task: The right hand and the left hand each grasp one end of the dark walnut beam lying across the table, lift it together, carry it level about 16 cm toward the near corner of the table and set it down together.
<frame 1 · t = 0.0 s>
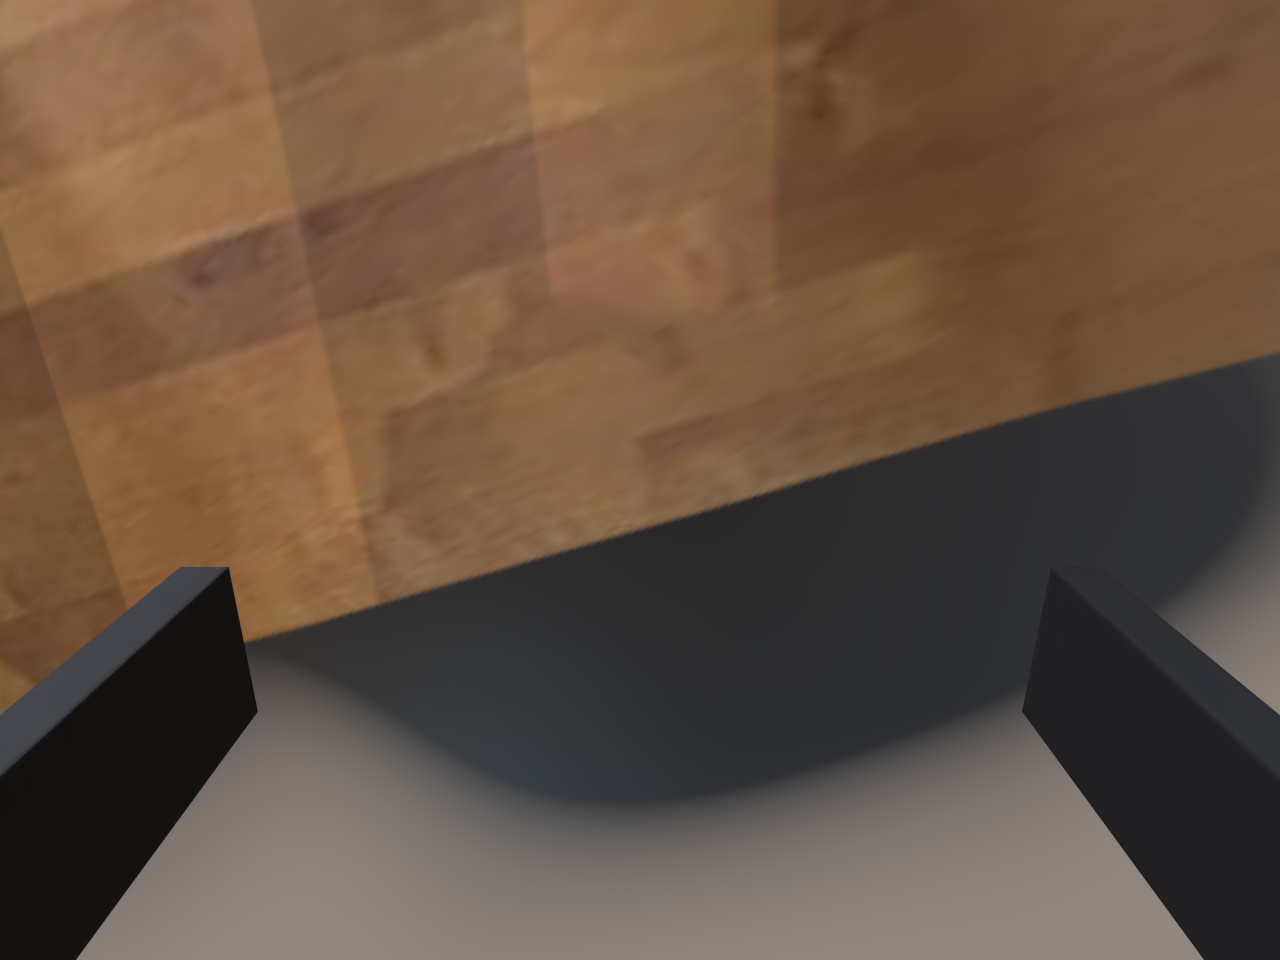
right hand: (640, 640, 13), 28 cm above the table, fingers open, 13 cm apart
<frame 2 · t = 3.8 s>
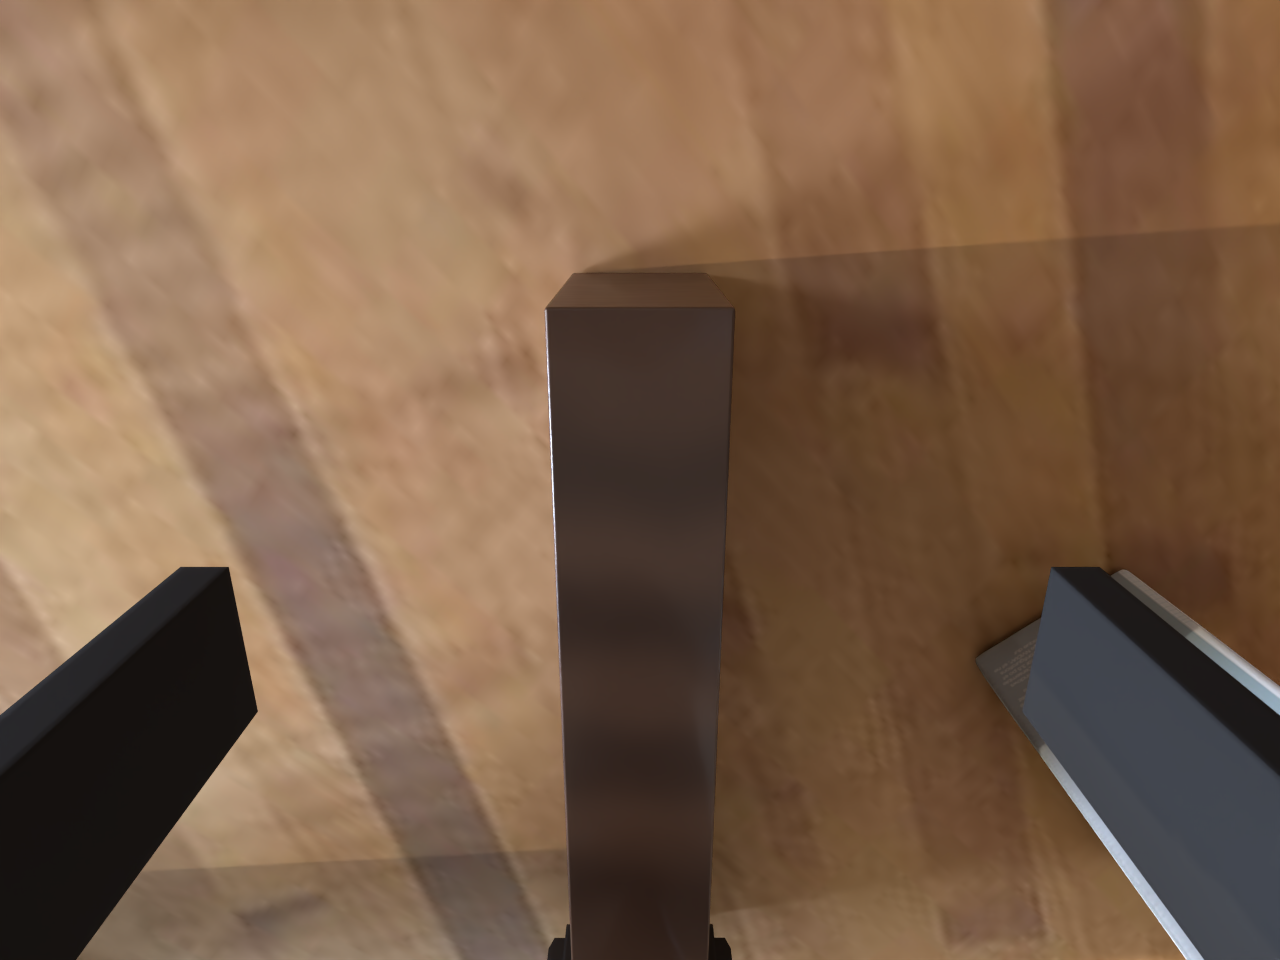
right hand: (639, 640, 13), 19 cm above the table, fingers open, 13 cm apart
walnut beam: (639, 648, 34), on the table, touching left hand
hard drive box: (1121, 723, 36), on the table
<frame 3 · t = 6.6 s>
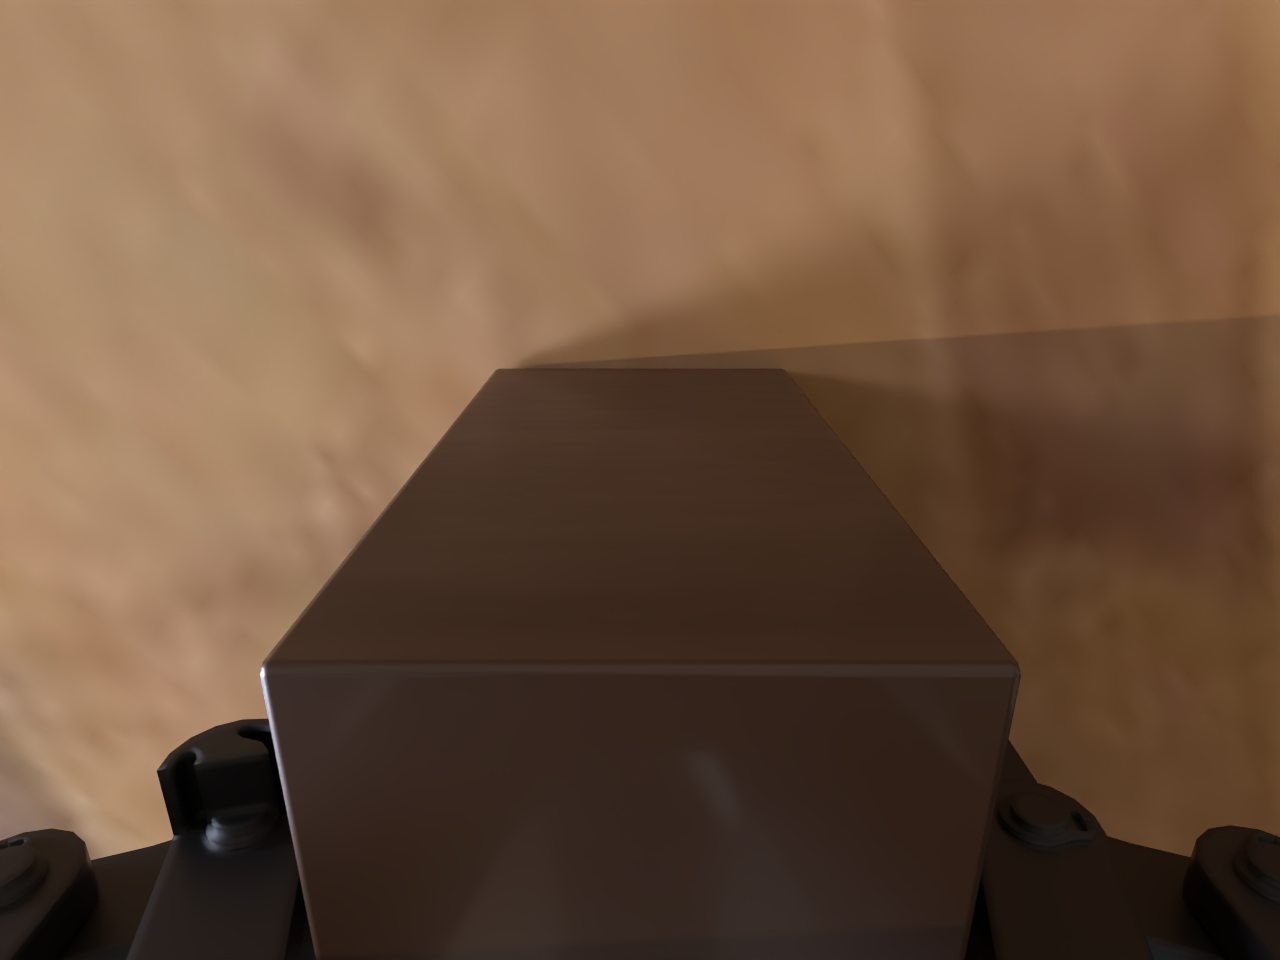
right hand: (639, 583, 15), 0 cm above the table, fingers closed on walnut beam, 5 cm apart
when the right hand's fingers open (2 cm above the table, at t = 12.7 s): walnut beam drops 1 cm, on the table.
when the left hand's fingers open (6 cm above the table, at t = 12.9 s): walnut beam drops 1 cm, on the table.
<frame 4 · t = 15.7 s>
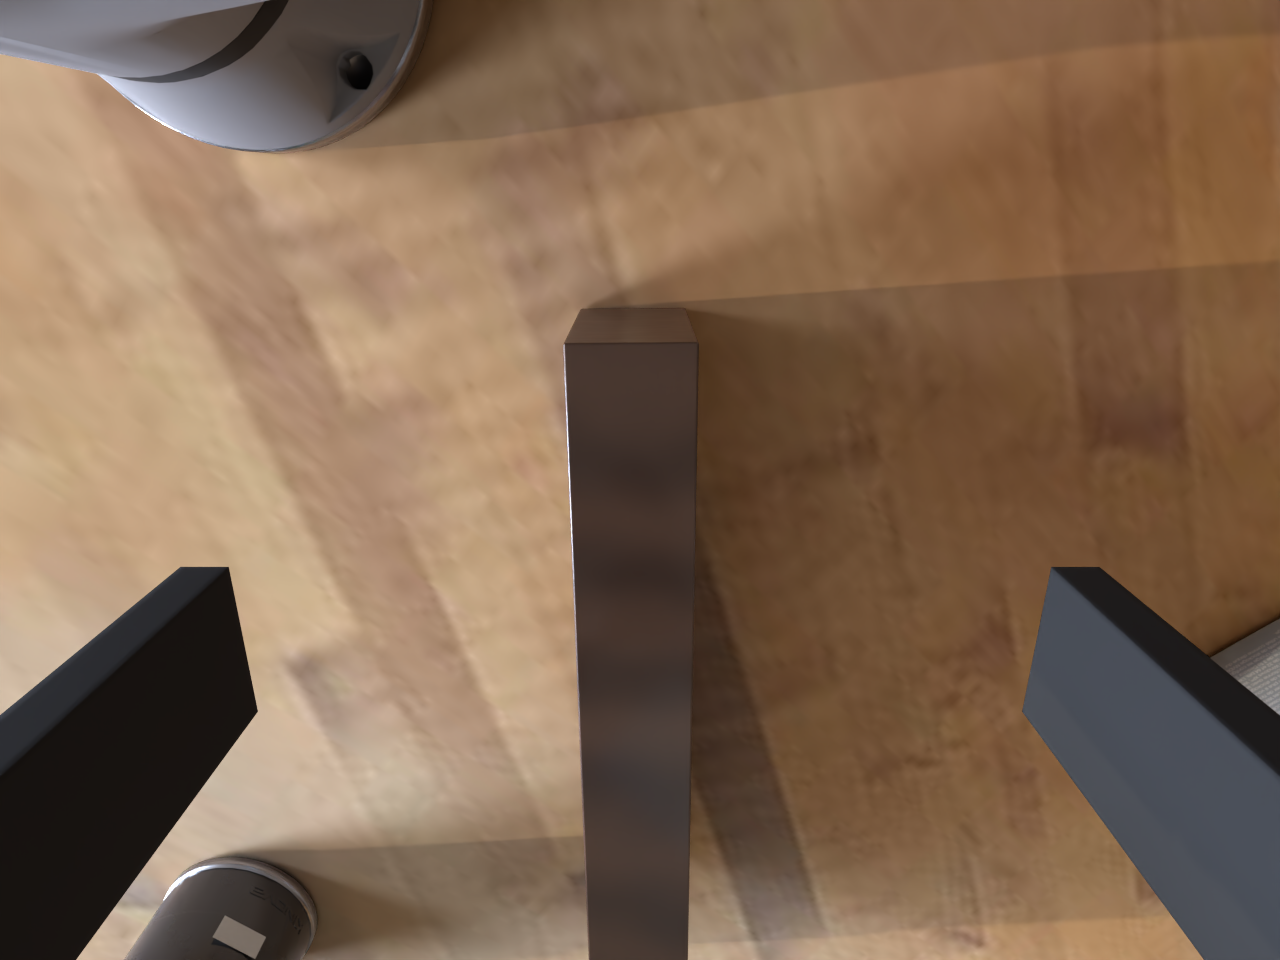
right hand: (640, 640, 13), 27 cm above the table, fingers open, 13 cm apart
walnut beam: (636, 605, 43), on the table
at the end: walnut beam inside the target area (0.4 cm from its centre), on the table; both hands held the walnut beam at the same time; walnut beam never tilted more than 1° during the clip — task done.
